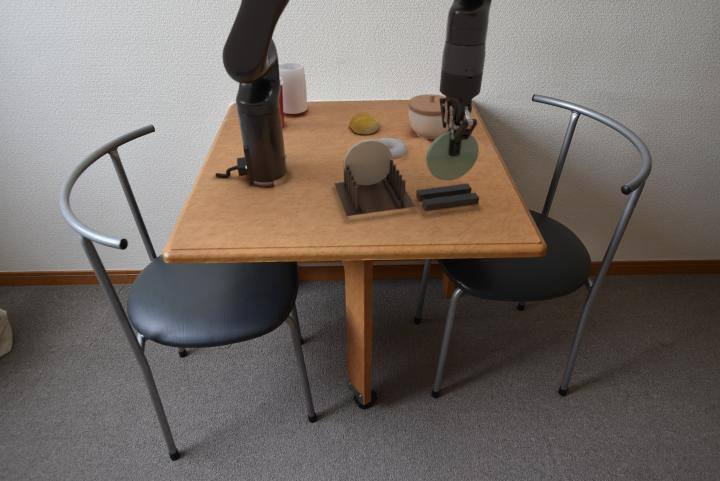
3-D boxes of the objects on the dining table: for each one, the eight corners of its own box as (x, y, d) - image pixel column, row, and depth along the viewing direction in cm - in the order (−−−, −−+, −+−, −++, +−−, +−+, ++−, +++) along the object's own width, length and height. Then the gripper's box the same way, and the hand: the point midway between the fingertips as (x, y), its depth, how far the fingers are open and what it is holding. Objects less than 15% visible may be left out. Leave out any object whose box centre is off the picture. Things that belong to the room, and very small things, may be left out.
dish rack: (346, 222, 99) (345, 191, 95) (334, 188, 110) (332, 159, 106) (415, 212, 102) (417, 182, 97) (396, 180, 113) (397, 152, 108)
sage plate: (425, 183, 99) (429, 134, 92) (424, 181, 99) (427, 132, 93) (474, 177, 101) (482, 128, 94) (472, 175, 101) (480, 126, 95)
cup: (292, 120, 142) (288, 72, 133) (275, 113, 147) (269, 66, 138) (314, 112, 147) (310, 65, 138) (296, 105, 152) (292, 59, 143)
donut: (365, 163, 120) (404, 166, 118) (364, 151, 118) (404, 153, 116) (372, 146, 128) (409, 148, 126) (372, 134, 126) (409, 136, 124)
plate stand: (424, 216, 100) (426, 204, 99) (415, 201, 105) (416, 190, 103) (477, 209, 102) (479, 197, 101) (466, 194, 107) (467, 183, 106)
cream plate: (345, 188, 107) (343, 143, 101) (344, 186, 108) (342, 141, 101) (392, 182, 109) (393, 138, 102) (390, 180, 110) (392, 136, 103)
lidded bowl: (410, 144, 128) (412, 104, 121) (403, 125, 138) (405, 88, 132) (456, 142, 129) (461, 103, 122) (446, 124, 139) (450, 86, 132)
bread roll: (356, 137, 132) (356, 123, 130) (346, 125, 139) (345, 112, 136) (384, 132, 134) (384, 119, 132) (372, 121, 141) (372, 108, 139)
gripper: (430, 58, 91) (423, 141, 101) (457, 80, 80) (447, 171, 91) (466, 54, 92) (456, 138, 102) (498, 76, 81) (483, 167, 92)
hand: (452, 153), depth 96 cm, fingers closed on sage plate, 1 cm apart
